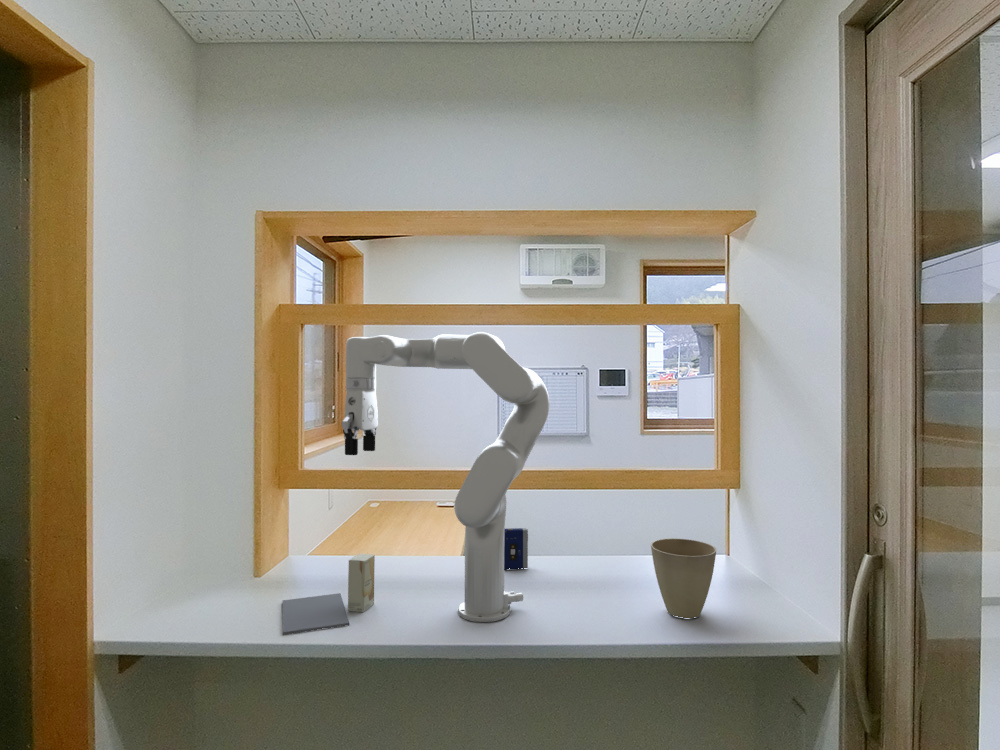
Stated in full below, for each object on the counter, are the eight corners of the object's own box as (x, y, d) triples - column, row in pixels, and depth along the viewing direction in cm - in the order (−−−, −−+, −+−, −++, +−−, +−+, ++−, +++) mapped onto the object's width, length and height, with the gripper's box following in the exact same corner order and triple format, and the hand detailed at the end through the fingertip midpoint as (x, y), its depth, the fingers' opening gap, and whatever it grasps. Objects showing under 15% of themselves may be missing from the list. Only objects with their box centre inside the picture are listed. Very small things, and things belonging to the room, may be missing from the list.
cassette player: (503, 570, 167) (503, 529, 168) (502, 567, 170) (502, 527, 170) (528, 569, 168) (528, 529, 168) (527, 567, 170) (527, 527, 171)
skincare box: (363, 613, 135) (364, 561, 135) (347, 611, 136) (347, 560, 136) (375, 603, 141) (375, 553, 142) (359, 601, 142) (359, 552, 143)
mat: (340, 595, 146) (340, 593, 147) (349, 625, 128) (349, 622, 128) (282, 602, 141) (282, 600, 141) (283, 635, 123) (283, 632, 123)
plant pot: (638, 606, 139) (638, 541, 140) (688, 599, 144) (687, 536, 145) (678, 630, 125) (677, 558, 126) (731, 621, 130) (730, 551, 131)
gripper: (358, 385, 135) (358, 457, 135) (388, 385, 152) (388, 449, 151) (330, 385, 137) (329, 456, 136) (363, 385, 154) (362, 449, 153)
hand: (360, 452), depth 144 cm, fingers open, 9 cm apart
